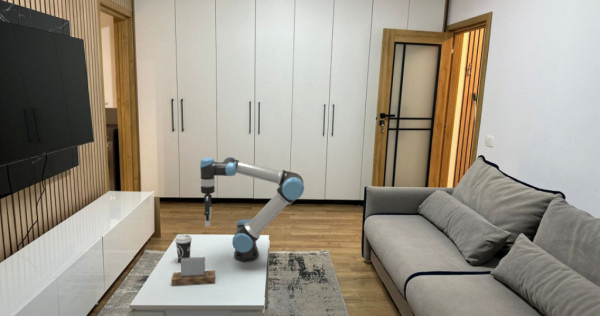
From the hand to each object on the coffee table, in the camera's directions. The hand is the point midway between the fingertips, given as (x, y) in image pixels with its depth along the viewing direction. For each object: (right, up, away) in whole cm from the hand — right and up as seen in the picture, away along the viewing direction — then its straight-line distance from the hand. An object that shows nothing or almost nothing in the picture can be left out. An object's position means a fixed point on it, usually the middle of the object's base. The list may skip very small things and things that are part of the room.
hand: (208, 221), depth 228 cm
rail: (-5, -30, -14) cm, 33 cm away
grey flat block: (-5, -29, -14) cm, 33 cm away
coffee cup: (-17, -25, +10) cm, 32 cm away
